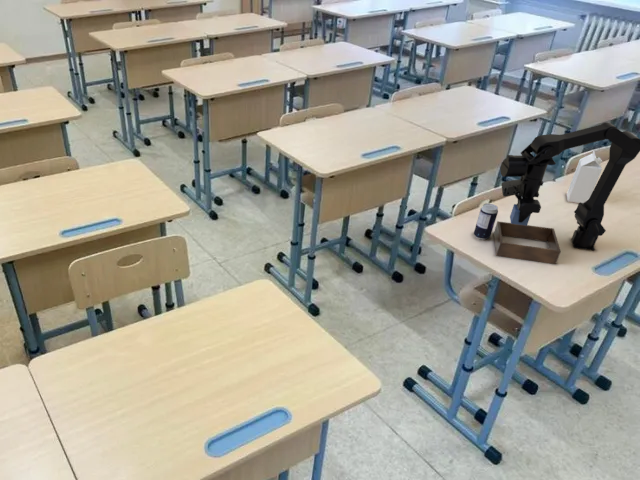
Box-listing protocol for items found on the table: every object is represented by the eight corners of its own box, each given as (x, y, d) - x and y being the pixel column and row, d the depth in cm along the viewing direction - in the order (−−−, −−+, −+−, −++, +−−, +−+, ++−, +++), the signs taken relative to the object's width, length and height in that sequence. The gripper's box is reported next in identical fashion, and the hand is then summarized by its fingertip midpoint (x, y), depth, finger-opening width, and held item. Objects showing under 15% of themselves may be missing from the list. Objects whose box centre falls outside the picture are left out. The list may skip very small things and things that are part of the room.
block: (525, 218, 190) (529, 205, 187) (526, 225, 186) (531, 212, 183) (509, 216, 191) (514, 203, 188) (511, 223, 187) (515, 210, 184)
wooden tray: (549, 240, 196) (554, 228, 192) (555, 264, 184) (560, 251, 181) (493, 233, 200) (497, 221, 197) (496, 255, 188) (500, 243, 185)
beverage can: (490, 241, 195) (500, 211, 188) (474, 239, 196) (482, 209, 189) (488, 233, 200) (497, 203, 192) (472, 231, 201) (480, 202, 193)
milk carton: (567, 201, 219) (585, 156, 207) (566, 194, 224) (583, 149, 212) (587, 204, 217) (606, 159, 205) (585, 197, 222) (604, 152, 210)
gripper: (504, 161, 187) (492, 203, 197) (509, 185, 173) (496, 228, 182) (540, 165, 185) (525, 207, 194) (548, 189, 170) (532, 233, 180)
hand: (519, 218), depth 188 cm, fingers closed on block, 5 cm apart
